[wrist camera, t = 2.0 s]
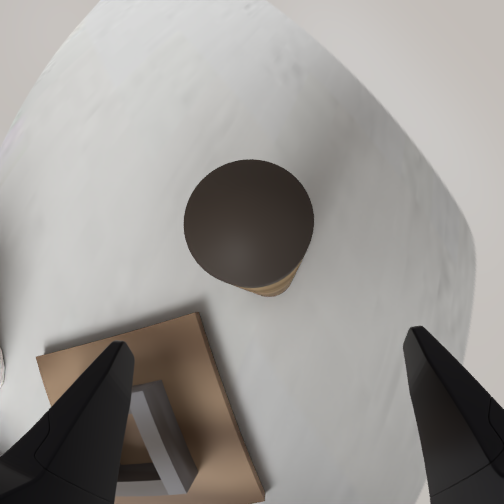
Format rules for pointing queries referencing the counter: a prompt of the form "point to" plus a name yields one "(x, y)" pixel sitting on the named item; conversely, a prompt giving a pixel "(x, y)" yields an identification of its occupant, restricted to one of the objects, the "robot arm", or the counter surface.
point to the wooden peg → (250, 225)
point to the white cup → (1, 368)
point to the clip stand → (170, 418)
